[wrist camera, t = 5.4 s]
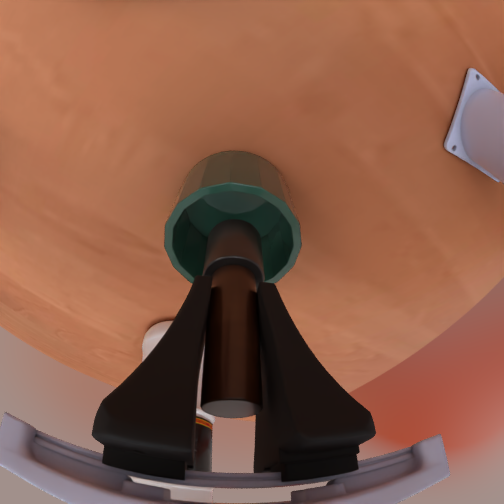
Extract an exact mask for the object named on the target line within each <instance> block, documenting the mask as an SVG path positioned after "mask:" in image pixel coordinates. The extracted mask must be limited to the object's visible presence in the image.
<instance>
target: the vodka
mask: <svg viewBox="0 0 504 504" xmlns="http://www.w3.org/2000/svg"><path fill="white" fill-rule="evenodd" d="M172 322H173V321H164V322H160V323H157V324H155V325H153V326H152V327H151V328H150V329H149V330H148V331H147V332H146V334H145V336H144V340H143V345H142V352H143V359H142V362H143V361H144V360H145V358H146V357H147V356H148V355H149V354H150V352H151V351H152V350H153V349H154V348H155V346H156V345H157V344H158V342H159V341H160V340H161V338H162V337H163V335H164V334H165V333H166V331H167V330H168V328H169V327H170V325H171V323H172ZM204 347H205V345H204ZM203 359H204V351H203V356H202V362H201V368H200V373H199V381H198V394H197V410H196V429H195V455H194V465H193V469H189V468H187V470H191V471H202V472H212V425H213V423H214V421H215V417H214V416H213V415H210V414H207V413H205V412H204V411H203V410H202V409H201V407H200V402H201V387H202V372H203ZM130 477H131V478H132V480H133V482H137V483H141V484H146V485H151V486H157V487H162V488H166V489H170V490H171V499H174V500H183V501H193V502H207V503H213V498H212V491H213V490H214V489H213V488H210V487H197V486H187V485H178V484H170V483H164V482H157V481H152V480H146V479H141V478H136V477H132V476H130Z"/></svg>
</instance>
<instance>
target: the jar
mask: <svg viewBox="0 0 504 504" xmlns="http://www.w3.org/2000/svg"><path fill="white" fill-rule="evenodd" d="M229 219H239V220H244V221H246V222H248V223H250V224H252V225H253V226H254V227H255V228H256V229H257V230H258V232H259V234H260V237H261V245H262V255H263V266H264V276H265V279H264V282H267V283H276V282H278V281H279V280H280V279H281V278H282V277H283V276H284V275H285V274H286V273H287V272H288V271H289V270H290V269H291V268H292V267H293V266H294V264H295V262H296V259H297V257H298V254H299V252H300V249H301V246H302V242H301V232H300V224H299V220H298V217H297V214H296V211H295V208H294V205H293V202H292V199H291V196H290V192H289V189H288V187H287V185H286V183H285V181H284V179H283V177H282V176H281V174H280V173H279V171H278V170H277V169H276V168H275V167H274V166H273V165H272V164H271V163H269V162H268V161H267V160H265V159H263V158H262V157H260V156H257V155H255V154H252V153H248V152H243V151H225V152H220V153H216V154H213V155H211V156H209V157H207V158H205V159H203V160H202V161H200V162H199V163H198V164H197V165H195V166H194V167H193V169H192V170H191V171H190V172H189V174H188V175H187V177H186V179H185V181H184V183H183V184H182V186H181V188H180V190H179V192H178V195H177V197H176V199H175V202H174V204H173V207H172V209H171V211H170V214H169V216H168V219H167V221H166V224H165V240H164V247H165V250H166V252H167V254H168V256H169V258H170V261H171V263H172V265H173V267H174V268H175V269H176V270H177V271H178V272H179V273H180V274H181V275H183V276H184V277H185V278H186V279H187V280H188V281H189V282H191V283H193V282H194V278H195V277H196V276H197V275H201V276H202V275H203V268H204V261H205V255H206V248H207V242H208V236H209V233H210V231H211V230H212V229H213V227H214V226H216V225H217V224H218V223H220V222H222V221H225V220H229Z"/></svg>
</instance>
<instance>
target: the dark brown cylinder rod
mask: <svg viewBox="0 0 504 504" xmlns="http://www.w3.org/2000/svg"><path fill="white" fill-rule="evenodd" d="M202 276H210V277H212V287H211V297H210V307H209V312H208V318H207V324H206V335H205V347H204V359H203V372H202V387H201V402H200V407H201V409H202V410H203V411H204V412H205V413H207V414H210V415H213V416H217V417H223V418H243V417H249V416H253V415H256V414H258V413H260V412H261V411H262V409H263V397H262V379H261V361H260V344H259V327H258V312H257V295H256V293H257V289H258V285H259V282H264V279H265V276H264V266H263V255H262V245H261V237H260V234H259V232H258V230H257V229H256V228H255V227H254V226H253V225H252V224H250V223H248V222H246V221H244V220H239V219H229V220H225V221H222V222H220V223H218V224H217V225H216V226H214V227H213V229H212V230H211V231H210V233H209V236H208V242H207V248H206V255H205V261H204V268H203V275H202Z"/></svg>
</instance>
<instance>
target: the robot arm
mask: <svg viewBox="0 0 504 504" xmlns="http://www.w3.org/2000/svg"><path fill="white" fill-rule="evenodd" d="M476 76H477V78H476ZM453 146H454V148H453V149H452V147H453ZM444 148H445V149H446V150H447V151H449V152H451V153H452V154H454V155H456V156H458V157H459V158H461V159H463V160H464V161H466V162H468V163H469V164H471V165H472V166H474V167H476V168H477V169H479V170H480V171H482V172H483V173H485V174H486V175H488V176H489V177H491V178H492V179H494V180H495V181H497V182H500V181H501V182H502V183H503V184H504V94H502V93H501V92H500V91H499V90H498V89H496V88H495V87H494V86H493V85H492V84H491V83H490V82H489V81H488V80H487V79H486V78H485V77H483V76H482V75H481V74H480V73H479V72H478V71H477V70H475V69H474V68H469V69H468V72H467V75H466V79H465V83H464V86H463V90H462V93H461V96H460V100H459V103H458V106H457V109H456V112H455V115H454V118H453V121H452V123H451V126H450V129H449V132H448V134H447V137H446V140H445V142H444ZM211 287H212V277H210V276H201V275H197V276H196V277H195V278H194V282H193V284H192V287H191V289H190V291H189V294H188V296H187V298H186V300H185V301H184V303H183V305H182V307H181V309H180V310H179V312H178V314H177V316H176V317H175V319H174V320H173V322H172V323H171V325H170V327H169V328H168V330H167V331H166V333H165V334H164V335H163V337H162V338H161V340H160V341H159V342H158V344H157V345H156V346H155V348H154V349H153V350H152V351H151V352H150V354H149V355H148V356H147V357H146V358H145V360H144V361H143V362H142V363H141V364H140V365H139V366H138V367H137V368H136V369H135V370H134V372H133V373H132V374H131V375H130V376H129V377H128V378H127V379H126V380H125V381H124V382H123V383H122V384H121V385H119V386H118V387H117V388H116V389H115V390H114V391H113V392H112V393H110V394H109V395H108V396H107V397H106V398H105V399H104V400H103V401H102V403H101V404H100V407H99V409H98V411H97V413H96V416H95V420H94V425H93V430H92V436H93V437H94V438H95V439H96V440H97V441H99V442H100V443H102V444H103V445H104V451H103V454H101V453H98V452H95V451H92V450H88V449H85V448H82V447H79V446H76V445H73V444H70V443H68V442H65V441H62V440H60V439H57V438H55V437H52V436H50V435H48V434H45V433H43V432H41V431H38V430H36V429H35V428H34V427H33V426H31V425H30V424H28V423H26V422H24V421H22V420H20V419H18V418H16V417H14V416H12V415H10V414H9V413H7V412H5V413H4V415H3V419H2V424H1V428H0V465H1V466H3V467H4V468H6V469H7V470H9V471H10V472H12V473H14V474H15V475H17V476H19V477H20V478H22V479H24V480H25V481H27V482H29V483H30V484H32V485H34V486H36V487H38V488H39V489H41V490H43V491H45V492H47V493H48V494H50V495H52V496H54V497H57V498H59V499H60V500H62V501H64V502H67V503H69V504H397V503H399V502H401V501H403V500H405V499H407V498H409V497H411V496H413V495H415V494H417V493H419V492H421V491H423V490H424V489H426V488H428V487H430V486H432V485H434V484H436V483H438V482H440V481H441V480H443V479H445V478H447V477H449V476H450V471H449V467H448V462H447V457H446V453H445V449H444V445H443V441H442V437H441V434H438V435H436V436H433V437H430V438H428V439H425V440H422V441H420V442H418V443H416V444H414V445H412V446H411V447H408V448H405V449H402V450H398V451H395V452H392V453H388V454H384V455H381V456H377V457H373V458H369V459H365V460H361V461H357V455H356V454H358V453H359V446H358V445H360V444H362V443H364V442H365V441H367V440H369V439H371V438H373V437H374V436H375V434H376V431H375V426H374V422H373V419H372V416H371V413H370V412H369V411H368V410H367V409H366V408H364V407H363V406H362V405H361V404H360V403H358V402H357V401H356V400H355V399H354V398H352V397H351V396H350V395H349V394H348V393H347V392H346V391H345V390H344V389H343V388H342V387H341V386H340V385H339V384H338V383H337V382H336V380H335V379H334V378H333V377H332V376H331V375H330V374H329V373H328V372H327V371H326V369H325V368H324V367H323V366H322V364H321V363H320V362H319V361H318V359H317V358H316V357H315V355H314V354H313V353H312V351H311V350H310V348H309V347H308V345H307V344H306V342H305V341H304V339H303V338H302V336H301V334H300V333H299V331H298V329H297V328H296V326H295V324H294V322H293V321H292V319H291V317H290V315H289V313H288V311H287V309H286V307H285V305H284V303H283V301H282V299H281V297H280V295H279V292H278V290H277V288H276V285H275V284H274V283H267V282H259V285H258V289H257V293H256V295H257V312H258V327H259V344H260V361H261V379H262V397H263V409H262V411H261V412H260V413H258V414H256V426H255V452H254V473H215V472H202V471H191V470H187V468H189V469H193V465H194V455H195V429H196V410H197V394H198V381H199V373H200V368H201V362H202V356H203V351H204V345H205V335H206V324H207V318H208V312H209V307H210V297H211ZM130 476H132V477H136V478H141V479H146V480H152V481H157V482H164V483H170V484H178V485H187V486H197V487H210V488H271V487H285V486H294V485H303V484H311V483H318V482H324V481H329V482H328V483H327V485H326V486H323V487H316V488H310V489H305V490H298V491H292V492H291V501H284V502H270V503H207V502H193V501H183V500H174V499H171V490H170V489H166V488H162V487H157V486H151V485H146V484H141V483H137V482H133V480H132V478H131V477H130ZM330 480H331V481H330Z"/></svg>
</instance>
